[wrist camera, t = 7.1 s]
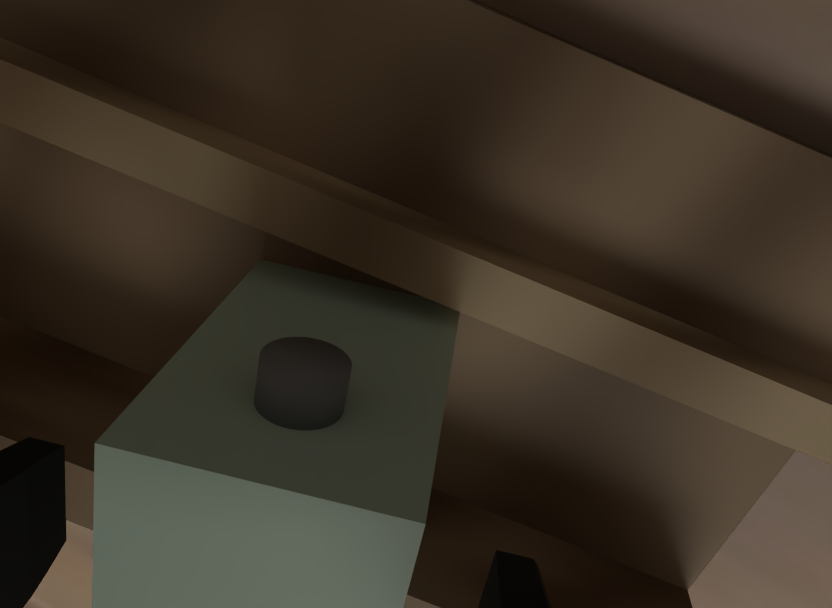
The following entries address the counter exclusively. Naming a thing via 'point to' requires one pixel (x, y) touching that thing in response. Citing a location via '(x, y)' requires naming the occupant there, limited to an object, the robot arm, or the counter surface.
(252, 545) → the cabinet block
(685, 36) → the counter surface
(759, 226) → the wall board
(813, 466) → the counter surface
